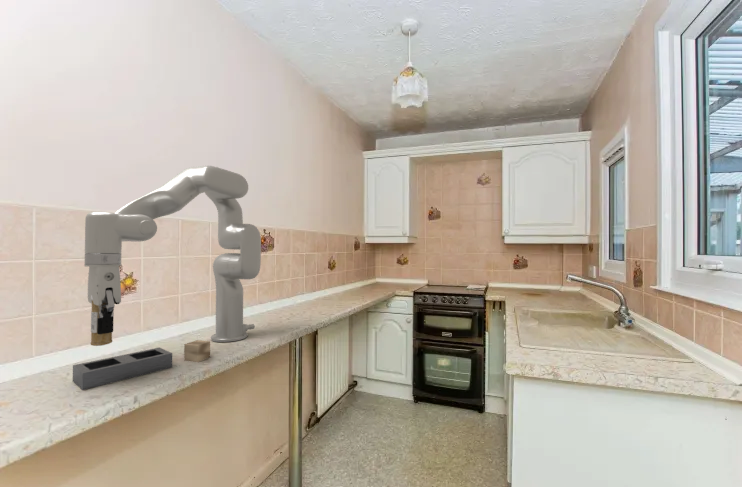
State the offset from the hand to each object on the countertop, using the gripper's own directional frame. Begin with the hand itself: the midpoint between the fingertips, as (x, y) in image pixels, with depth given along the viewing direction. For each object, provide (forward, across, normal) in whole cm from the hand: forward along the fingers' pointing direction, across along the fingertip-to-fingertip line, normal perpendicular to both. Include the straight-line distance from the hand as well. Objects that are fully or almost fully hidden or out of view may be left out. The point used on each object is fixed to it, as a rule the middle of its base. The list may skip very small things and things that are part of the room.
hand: (102, 331), depth 89 cm
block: (+12, -2, -23) cm, 26 cm away
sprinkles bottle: (+4, 0, 0) cm, 4 cm away
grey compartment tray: (+12, 0, -5) cm, 13 cm away
